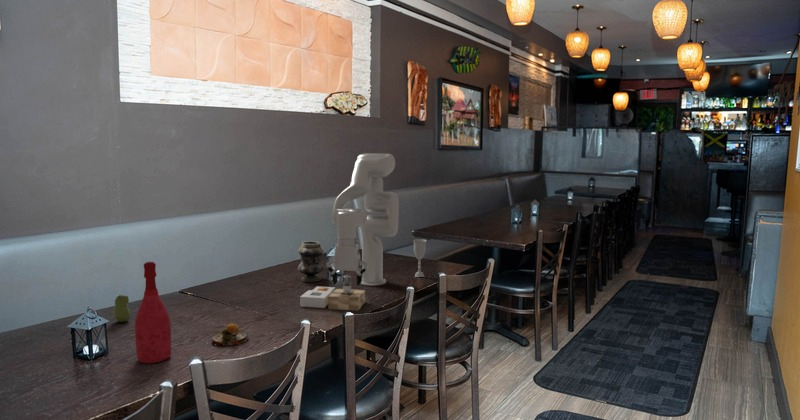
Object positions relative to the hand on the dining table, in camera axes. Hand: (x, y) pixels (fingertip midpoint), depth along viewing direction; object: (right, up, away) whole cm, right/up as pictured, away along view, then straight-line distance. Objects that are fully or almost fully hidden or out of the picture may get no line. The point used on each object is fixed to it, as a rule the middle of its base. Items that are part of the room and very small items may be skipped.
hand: (347, 284), depth 224 cm
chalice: (+31, -3, +48) cm, 57 cm away
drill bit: (0, -9, +1) cm, 9 cm away
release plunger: (-11, -6, +12) cm, 18 cm away
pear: (-80, -11, -20) cm, 83 cm away
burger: (-35, -14, -38) cm, 54 cm away
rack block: (0, -9, +1) cm, 9 cm away
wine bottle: (-53, -16, -54) cm, 78 cm away
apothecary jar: (-21, -4, +42) cm, 47 cm away
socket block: (-12, -8, +7) cm, 16 cm away
